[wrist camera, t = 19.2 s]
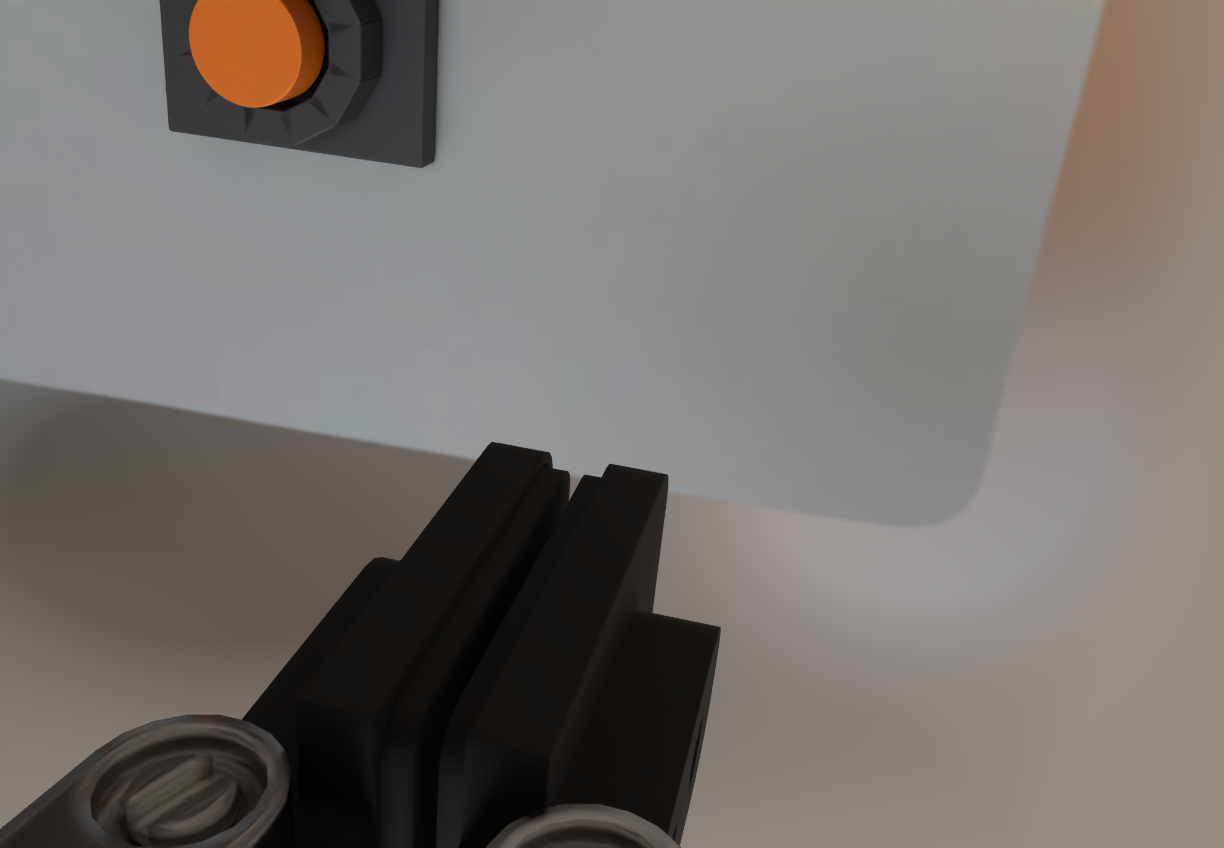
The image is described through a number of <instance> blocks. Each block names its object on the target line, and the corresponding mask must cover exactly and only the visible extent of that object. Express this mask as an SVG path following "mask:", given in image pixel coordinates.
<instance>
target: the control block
mask: <svg viewBox="0 0 1224 848" xmlns="http://www.w3.org/2000/svg"><path fill="white" fill-rule="evenodd" d="M197 1H198V0H160V10H161V24H162V38H163V51H164V65H165V79H166V93H167V107H168V121H169V130H171V131H174V132H181V133H188V134H195V135H201V136H208V137H215V138H222V139H229V140H235V141H242V142H249V143H256V144H262V145H269V146H276V147H283V148H289V149H296V150H303V151H310V152H316V153H323V154H330V155H337V156H344V157H350V158H357V159H364V160H371V161H377V162H384V163H391V164H398V165H404V166H411V167H418V168H423V167H425V166H427V165H429V164H430V163H432V162H433V161H434V143H435V104H436V64H437V24H438V0H308V1H309V3H310V4H311V6H312V7H313V9H314V10H315V12H316V14H317V16H318V18H319V21H320V24H321V27H322V30H323V35H324V44H325V50H324V59H323V64H322V67H321V70H320V72H319V75H318V77H317V78H316V80H315V81H314V83H313V84H312V85H311V86H310V87H309V88H308V89H307V90H306V91H305V92H303V93H302V94H300V95H298V96H296V97H294V98H291V99H288V100H285V101H282V102H279V103H276V104H272V105H269V106H265V107H258V108H252V107H245V106H240V105H238V104H235V103H233V102H231V101H229V100H227V99H225V98H224V97H222V96H221V95H219V94H218V93H217V92H216V91H215V90H213V89H212V88H211V86H210V85H209V84H208V83H207V82H206V81H205V79H204V78H203V77H202V75H201V73H200V72H199V70H198V68H197V66H196V64H195V61H194V58H193V56H192V52H191V48H190V41H189V25H190V19H191V15H192V12H193V9H194V7H195V5H196V3H197Z"/></svg>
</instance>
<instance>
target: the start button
mask: <svg viewBox="0 0 1224 848" xmlns="http://www.w3.org/2000/svg"><path fill="white" fill-rule="evenodd" d="M189 41H190V48H191V52H192V56H193V58H194V61H195V64H196V66H197V68H198V70H199V72H200V73H201V75H202V77H203V78H204V79H205V81H206V82H207V83H208V84H209V85H210V86H211V88H212V89H213V90H215V91H216V92H217V93H218V94H219V95H221V96H222V97H224V98H225V99H227V100H229V101H231V102H233V103H235V104H238V105H240V106H245V107H252V108H258V107H265V106H269V105H272V104H276V103H279V102H282V101H285V100H288V99H291V98H294V97H296V96H298V95H300V94H302V93H303V92H305V91H306V90H307V89H308V88H309V87H310V86H311V85H312V84H313V83H314V81H315V80H316V78H317V77H318V75H319V72H320V70H321V67H322V64H323V59H324V50H325V44H324V35H323V30H322V27H321V24H320V21H319V18H318V16H317V14H316V12H315V10H314V9H313V7H312V6H311V4H310V3H309V1H308V0H198V1H197V3H196V5H195V7H194V9H193V12H192V15H191V19H190V25H189Z"/></svg>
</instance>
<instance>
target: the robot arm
mask: <svg viewBox="0 0 1224 848" xmlns="http://www.w3.org/2000/svg"><path fill="white" fill-rule="evenodd" d="M569 491H570V474H569V472H568V471H564V470H558V469H553V464H552V457H551V454H550V452H544V451H539V450H534V449H528V448H523V447H517V446H512V445H507V444H501V443H496V442H491V443H490V444H489V445H488V446H487V447H486V449H485V450H484V451H483V453H482V454H481V455H480V457H479V458H478V459H477V461H476V462H475V463H474V465H473V466H472V467H471V469H470V470H469V471H468V473H467V474H466V475H465V476H464V478H463V479H462V480H461V482H460V483H459V484H458V486H457V487H456V488H455V490H454V491H453V492H452V493H451V495H450V496H449V497H448V499H447V500H446V501H445V503H444V504H443V505H442V507H441V508H440V509H439V511H438V512H437V513H436V515H435V516H434V517H433V518H432V520H431V521H430V522H429V524H428V525H427V526H426V528H425V529H424V530H423V532H422V533H421V534H420V536H419V537H418V538H417V539H416V541H415V542H414V543H413V545H412V546H411V547H410V549H409V550H408V551H407V553H406V554H405V555H404V557H403V558H402V559H401V560H400V561H398V560H394V559H389V558H384V557H379V558H374V559H373V560H372V561H371V562H370V563H369V564H367V565H366V566H365V567H364V569H363V570H362V571H361V572H360V574H359V575H358V576H357V577H356V578H355V580H354V581H353V582H352V583H351V585H350V586H349V587H348V588H347V590H346V591H345V592H344V593H343V595H342V596H341V597H340V599H339V600H338V601H337V602H336V603H335V605H334V606H333V607H332V608H331V610H330V611H329V612H328V613H327V614H326V616H325V617H324V618H323V619H322V621H321V622H320V623H319V624H318V626H317V627H316V628H315V630H314V631H313V632H312V633H311V634H310V635H309V637H308V638H307V639H306V641H305V642H304V643H303V644H302V645H301V647H300V648H299V649H298V650H297V652H296V653H295V654H294V655H293V657H292V658H291V659H290V660H289V662H288V663H287V664H286V665H285V666H284V668H283V669H282V670H281V671H280V673H279V674H278V675H277V676H276V678H275V679H274V680H273V681H272V683H271V684H270V685H269V686H268V688H267V689H266V690H265V691H264V693H263V694H262V695H261V696H260V698H259V699H258V700H257V701H256V703H255V704H254V705H253V706H252V707H251V709H250V710H249V711H248V712H247V714H246V715H245V716H244V717H243V719H242V720H240V719H235V718H231V717H227V716H222V715H183V716H178V717H172V718H167V719H162V720H157V721H153V722H150V723H148V724H145V725H143V726H140V727H137V728H135V729H132V730H130V731H127V732H124V733H123V734H121V735H119V736H118V737H116V738H115V739H113V740H112V741H110V742H109V743H107V744H105V745H104V746H102V747H101V748H99V749H98V750H96V751H95V752H94V753H92V754H91V755H90V756H89V757H87V758H86V759H85V760H84V761H83V762H82V763H80V764H79V765H78V766H76V767H75V768H74V769H73V770H72V771H70V772H69V773H68V774H67V775H66V776H64V778H62V779H61V780H60V781H58V782H57V783H56V784H55V785H53V786H52V787H51V788H50V789H49V790H47V791H46V792H45V793H44V794H42V795H41V796H40V797H39V798H38V799H36V800H35V801H34V802H33V803H31V804H30V805H29V806H28V807H27V808H25V809H24V810H23V811H22V812H20V813H19V814H18V815H17V816H16V817H14V818H13V819H12V820H11V821H10V822H8V823H7V824H6V825H5V826H3V827H2V828H1V829H0V848H681V847H680V843H681V838H682V834H683V830H684V825H685V821H686V817H687V813H688V809H689V804H690V800H691V796H692V791H693V787H694V782H695V778H696V773H697V768H698V763H699V759H700V753H701V748H702V743H703V738H704V732H705V727H706V722H707V716H708V711H709V704H710V699H711V693H712V686H713V680H714V674H715V667H716V661H717V655H718V648H719V641H720V632H721V631H720V630H721V629H720V627H717V626H713V625H708V624H703V623H698V622H693V621H688V620H683V619H679V618H674V617H669V616H664V615H659V614H654V613H652V612H653V604H654V596H655V588H656V580H657V572H658V565H659V557H660V549H661V541H662V533H663V525H664V518H665V510H666V502H667V493H668V475H667V474H662V473H657V472H651V471H646V470H641V469H635V468H630V467H625V466H619V465H614V464H609V465H608V467H607V468H606V470H605V472H604V474H603V476H602V478H601V477H595V476H590V475H584V476H583V477H582V479H581V481H580V482H579V484H578V486H577V488H576V490H575V492H574V493H573V495H572V497H571V499H570V500H569Z"/></svg>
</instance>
